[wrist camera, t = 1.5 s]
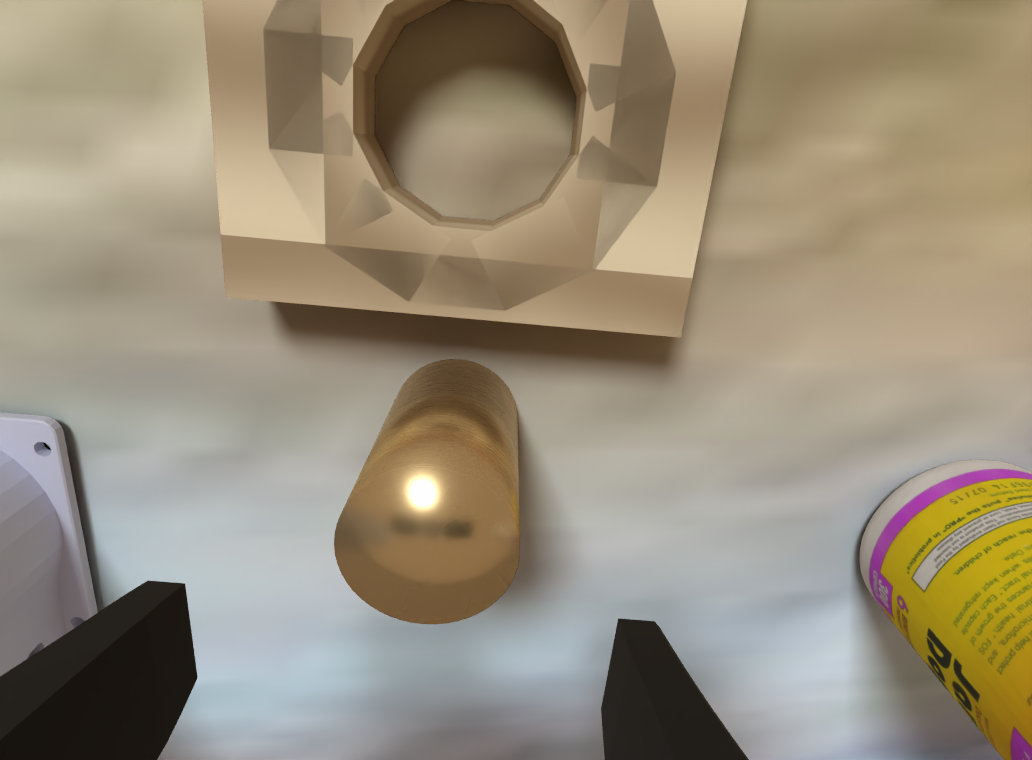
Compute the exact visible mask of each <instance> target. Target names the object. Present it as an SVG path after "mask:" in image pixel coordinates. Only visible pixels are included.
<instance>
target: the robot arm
mask: <svg viewBox="0 0 1032 760" xmlns="http://www.w3.org/2000/svg"><path fill="white" fill-rule="evenodd" d="M43 442H44V443H46V444H47V445H49V447H50V449H51V450H48V449H47V448H46V447H45V446H44V444H43ZM81 618H82V619H83V620H82V619H81ZM196 680H197V671H196V663H195V656H194V648H193V641H192V633H191V626H190V618H189V611H188V603H187V596H186V588H185V584H182V583H170V582H157V581H147V582H145V583H143V584H142V585H140V586H138V587H137V588H135V589H134V590H132V591H130V592H129V593H127V594H126V595H124V596H123V597H121V598H119V599H118V600H116V601H115V602H113V603H112V604H110V605H109V606H107V607H106V608H104V609H103V610H101V611H100V612H98V611H97V605H96V600H95V595H94V590H93V584H92V579H91V574H90V569H89V563H88V558H87V553H86V547H85V542H84V537H83V532H82V526H81V521H80V516H79V511H78V505H77V500H76V495H75V489H74V484H73V479H72V474H71V468H70V463H69V458H68V453H67V447H66V442H65V437H64V432H63V429H62V427H61V425H60V424H59V423H58V422H57V421H56V420H54V419H52V418H50V417H46V416H36V415H24V414H12V413H0V760H157V759H158V757H159V755H160V754H161V752H162V750H163V748H164V747H165V745H166V743H167V742H168V739H169V737H170V735H171V733H172V731H173V729H174V727H175V725H176V723H177V721H178V719H179V717H180V715H181V713H182V711H183V708H184V706H185V704H186V702H187V700H188V697H189V695H190V693H191V691H192V689H193V686H194V684H195V682H196ZM601 712H602V726H603V741H604V754H605V760H749V759H748V758H747V757H746V755H745V754H744V753H743V751H742V750H741V749H740V747H739V746H738V744H737V743H736V742H735V740H734V739H733V737H732V736H731V735H730V733H729V732H728V730H727V729H726V728H725V726H724V725H723V723H722V722H721V721H720V719H719V718H718V716H717V715H716V714H715V712H714V711H713V709H712V708H711V706H710V705H709V703H708V702H707V700H706V699H705V697H704V696H703V695H702V693H701V692H700V690H699V689H698V687H697V685H696V684H695V682H694V681H693V679H692V678H691V676H690V675H689V673H688V672H687V670H686V669H685V667H684V666H683V664H682V662H681V661H680V659H679V658H678V656H677V655H676V653H675V651H674V650H673V648H672V647H671V645H670V643H669V642H668V640H667V639H666V637H665V635H664V634H663V632H662V630H661V629H660V627H659V626H658V625H657V624H656V623H655V621H642V620H630V619H618V623H617V628H616V634H615V639H614V644H613V650H612V655H611V660H610V666H609V671H608V676H607V681H606V687H605V692H604V697H603V703H602V708H601Z"/></svg>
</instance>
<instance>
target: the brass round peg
mask: <svg viewBox="0 0 1032 760" xmlns="http://www.w3.org/2000/svg"><path fill="white" fill-rule="evenodd" d="M334 548H335V556H336V560H337V564H338V566H339V569H340V571H341V573H342V575H343V577H344V579H345V580H346V582H347V583H348V585H349V586H350V587H351V589H352V590H353V591H354V592H355V593H356V594H357V595H358V596H359V597H360V598H361V599H362V600H363V601H365V602H366V603H367V604H369V605H370V606H372V607H373V608H375V609H376V610H378V611H380V612H382V613H384V614H386V615H388V616H391V617H394V618H397V619H399V620H403V621H407V622H412V623H420V624H443V623H450V622H455V621H459V620H463V619H466V618H469V617H471V616H473V615H476V614H478V613H480V612H481V611H483V610H485V609H486V608H488V607H489V606H491V605H492V604H493V603H494V602H496V601H497V600H498V599H499V598H500V597H501V596H502V595H503V594H504V592H505V591H506V590H507V588H508V587H509V586H510V584H511V582H512V580H513V578H514V576H515V573H516V570H517V568H518V563H519V556H520V531H519V476H518V421H517V408H516V404H515V400H514V398H513V395H512V393H511V392H510V390H509V388H508V387H507V385H506V384H505V383H504V381H503V380H502V379H501V378H500V377H499V376H498V375H496V374H495V373H494V372H492V371H491V370H489V369H488V368H486V367H484V366H482V365H480V364H477V363H474V362H471V361H466V360H459V359H449V360H441V361H437V362H433V363H431V364H428V365H426V366H424V367H422V368H420V369H419V370H417V371H416V372H415V373H413V374H412V375H411V376H410V377H409V378H408V379H407V380H406V382H405V383H404V384H403V386H402V387H401V389H400V391H399V393H398V395H397V397H396V399H395V401H394V403H393V405H392V408H391V410H390V412H389V414H388V416H387V418H386V420H385V422H384V424H383V427H382V429H381V431H380V433H379V435H378V437H377V439H376V441H375V443H374V445H373V448H372V450H371V452H370V454H369V456H368V458H367V460H366V462H365V464H364V467H363V469H362V471H361V473H360V475H359V477H358V479H357V481H356V483H355V486H354V488H353V490H352V492H351V494H350V496H349V498H348V500H347V502H346V504H345V507H344V509H343V511H342V513H341V515H340V518H339V520H338V523H337V526H336V531H335V538H334Z"/></svg>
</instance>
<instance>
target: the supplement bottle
mask: <svg viewBox="0 0 1032 760" xmlns="http://www.w3.org/2000/svg"><path fill="white" fill-rule="evenodd" d="M860 569H861V573H862V577H863V579H864V582H865V584H866V586H867V588H868V590H869V592H870V593H871V595H872V596H873V598H874V599H875V600H876V601H877V603H878V604H879V605H880V607H881V608H882V609H883V611H884V612H885V613H886V615H887V616H888V617H889V618H890V619H891V621H892V622H893V623H894V625H895V626H896V627H897V628H898V629H899V631H900V632H901V633H902V634H903V636H904V637H905V638H906V639H907V641H908V642H909V643H910V644H911V646H912V647H913V648H914V649H915V650H916V652H917V653H918V654H919V655H920V656H921V658H922V659H923V660H924V662H925V663H926V664H927V665H928V666H929V668H930V669H931V670H932V672H933V673H934V674H935V676H936V677H937V678H938V679H939V680H940V681H941V682H942V684H943V685H944V686H945V688H946V689H947V690H948V691H949V692H950V693H951V694H952V696H953V697H954V698H955V700H956V701H957V702H958V704H959V705H960V706H961V707H962V708H963V710H964V711H965V712H966V714H967V715H968V716H969V717H970V719H971V720H972V721H973V722H974V724H975V725H976V726H977V727H978V728H979V730H980V731H981V732H982V733H983V734H984V736H985V737H986V738H987V739H988V740H989V742H990V743H991V744H992V745H993V747H994V748H995V749H996V750H997V752H998V753H999V754H1000V755H1001V756H1002V758H1003V759H1004V760H1032V473H1031V472H1029V471H1027V470H1025V469H1023V468H1020V467H1018V466H1015V465H1012V464H1009V463H1004V462H1000V461H994V460H965V461H958V462H953V463H949V464H945V465H942V466H939V467H936V468H933V469H931V470H928V471H926V472H923V473H921V474H919V475H918V476H916V477H914V478H912V479H910V480H909V481H907V482H906V483H904V484H903V485H902V486H900V487H899V488H898V489H896V490H895V491H894V492H893V493H892V494H891V495H890V496H889V497H888V498H887V499H886V500H885V501H884V502H883V503H882V504H881V506H880V507H879V508H878V509H877V511H876V512H875V513H874V515H873V516H872V518H871V520H870V521H869V523H868V525H867V527H866V529H865V532H864V535H863V537H862V541H861V547H860Z"/></svg>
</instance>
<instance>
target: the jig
mask: <svg viewBox="0 0 1032 760" xmlns="http://www.w3.org/2000/svg"><path fill="white" fill-rule="evenodd" d="M450 1H452V0H203V13H204V26H205V38H206V51H207V64H208V77H209V90H210V102H211V115H212V128H213V141H214V154H215V166H216V179H217V192H218V205H219V218H220V230H221V243H222V256H223V269H224V282H225V295H226V297H230V298H241V299H252V300H263V301H275V302H286V303H297V304H308V305H320V306H331V307H342V308H354V309H365V310H376V311H387V312H399V313H410V314H421V315H432V316H444V317H455V318H466V319H477V320H489V321H500V322H511V323H522V324H534V325H545V326H556V327H568V328H579V329H590V330H601V331H613V332H624V333H635V334H646V335H658V336H669V337H680V338H681V334H682V328H683V323H684V318H685V313H686V308H687V303H688V298H689V293H690V288H691V283H692V278H693V273H694V268H695V262H696V257H697V252H698V247H699V242H700V237H701V232H702V227H703V222H704V217H705V212H706V207H707V202H708V196H709V191H710V186H711V181H712V176H713V171H714V166H715V161H716V156H717V151H718V146H719V141H720V136H721V131H722V125H723V120H724V115H725V110H726V105H727V100H728V95H729V90H730V85H731V80H732V75H733V70H734V65H735V59H736V54H737V49H738V44H739V39H740V34H741V29H742V24H743V19H744V14H745V9H746V4H747V0H464V1H474V2H483V3H492V4H501V5H510V6H511V7H513V8H514V9H515V10H516V11H518V12H519V13H520V14H521V15H522V16H524V17H525V18H526V19H527V20H529V21H530V22H531V23H532V24H533V25H535V26H536V27H537V28H538V29H540V30H541V31H542V32H543V33H544V34H546V35H547V36H548V37H549V38H551V39H552V40H553V41H554V42H555V43H556V45H557V48H558V50H559V53H560V56H561V58H562V61H563V63H564V66H565V69H566V71H567V74H568V76H569V79H570V82H571V84H572V87H573V89H574V92H575V95H576V97H577V100H576V109H575V117H574V126H573V134H572V143H571V151H570V156H569V157H568V159H567V160H566V162H565V163H564V164H563V166H562V167H561V169H560V170H559V172H558V173H557V175H556V176H555V177H554V179H553V180H552V182H551V183H550V185H549V186H548V188H547V189H546V190H545V192H544V193H543V195H542V196H541V198H540V199H539V200H537V201H535V202H533V203H530V204H528V205H526V206H524V207H522V208H520V209H518V210H516V211H514V212H512V213H509V214H507V215H505V216H503V217H501V218H499V219H497V220H495V221H487V220H476V219H466V218H455V217H445V216H442V215H441V214H439V213H438V212H436V211H435V210H434V209H432V208H431V207H429V206H428V205H426V204H425V203H424V202H422V201H421V200H419V199H418V198H417V197H415V196H414V195H412V194H411V193H410V192H408V191H407V190H405V189H404V188H402V187H401V186H400V185H399V183H398V181H397V179H396V177H395V175H394V173H393V171H392V169H391V167H390V165H389V163H388V161H387V159H386V157H385V155H384V153H383V151H382V149H381V147H380V145H379V143H378V141H377V139H376V137H375V77H376V75H377V73H378V71H379V70H380V68H381V66H382V64H383V62H384V61H385V59H386V57H387V55H388V54H389V52H390V50H391V48H392V46H393V45H394V43H395V41H396V39H397V38H398V36H399V34H400V32H401V30H402V29H403V27H404V26H405V25H407V24H409V23H411V22H413V21H415V20H416V19H418V18H420V17H422V16H424V15H426V14H428V13H429V12H431V11H433V10H435V9H437V8H439V7H441V6H442V5H444V4H446V3H448V2H450Z"/></svg>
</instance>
